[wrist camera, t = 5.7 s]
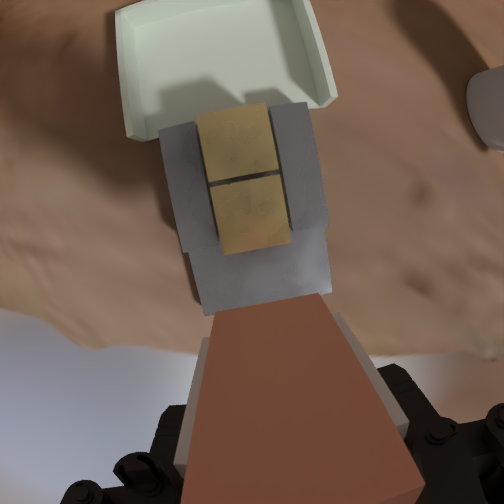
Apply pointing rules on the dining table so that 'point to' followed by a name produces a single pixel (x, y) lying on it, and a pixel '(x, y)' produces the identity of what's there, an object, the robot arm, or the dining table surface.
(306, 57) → the tray
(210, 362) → the salmon pink flat-faced block
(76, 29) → the dining table surface
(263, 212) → the chip
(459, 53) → the dining table surface
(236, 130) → the chip
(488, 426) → the robot arm
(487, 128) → the mug
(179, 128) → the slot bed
